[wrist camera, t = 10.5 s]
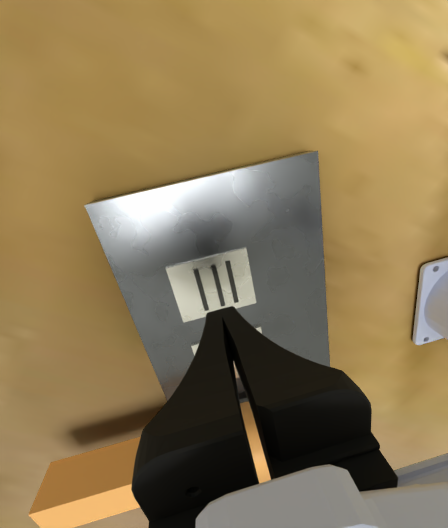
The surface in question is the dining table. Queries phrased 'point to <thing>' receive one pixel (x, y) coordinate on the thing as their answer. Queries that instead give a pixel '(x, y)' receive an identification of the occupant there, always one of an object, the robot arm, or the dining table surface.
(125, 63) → the dining table surface
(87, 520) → the orange rectangular block
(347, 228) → the dining table surface
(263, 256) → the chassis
